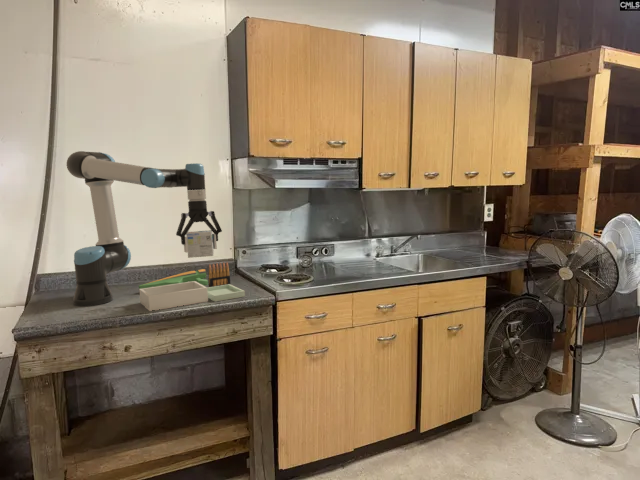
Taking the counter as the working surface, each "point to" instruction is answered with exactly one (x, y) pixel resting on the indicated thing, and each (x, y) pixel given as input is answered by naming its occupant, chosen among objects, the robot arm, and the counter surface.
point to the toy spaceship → (179, 279)
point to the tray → (224, 292)
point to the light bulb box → (200, 243)
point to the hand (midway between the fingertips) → (200, 250)
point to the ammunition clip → (219, 275)
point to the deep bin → (173, 295)
